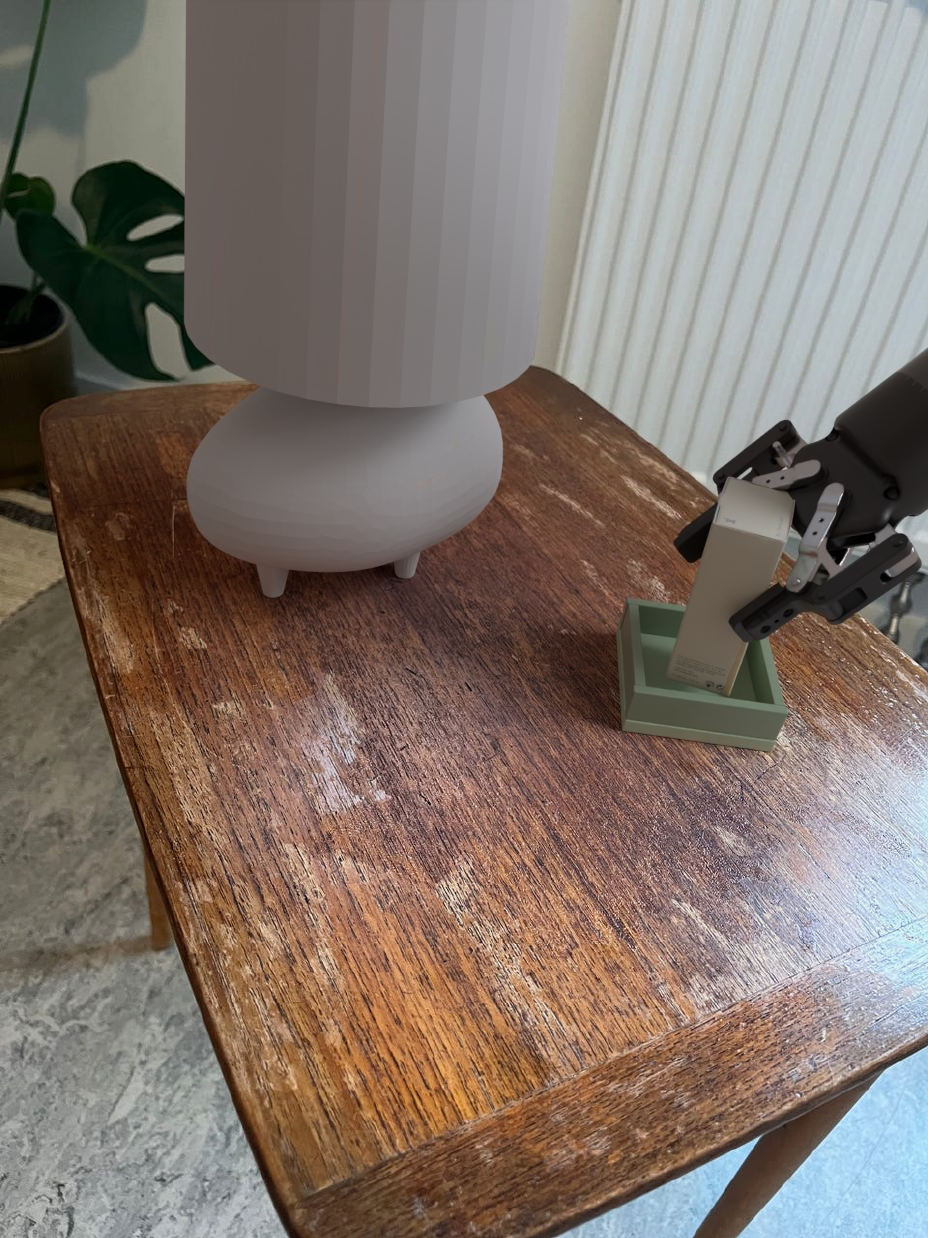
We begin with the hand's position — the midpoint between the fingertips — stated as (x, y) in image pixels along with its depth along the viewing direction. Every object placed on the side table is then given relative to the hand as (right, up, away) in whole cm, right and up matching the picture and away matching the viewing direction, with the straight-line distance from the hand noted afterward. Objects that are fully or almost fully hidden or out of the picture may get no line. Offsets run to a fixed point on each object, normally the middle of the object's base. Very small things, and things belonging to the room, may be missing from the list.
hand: (707, 591), depth 60 cm
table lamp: (-24, +2, +12) cm, 27 cm away
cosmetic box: (+1, -5, +4) cm, 6 cm away
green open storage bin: (0, -7, +6) cm, 9 cm away
